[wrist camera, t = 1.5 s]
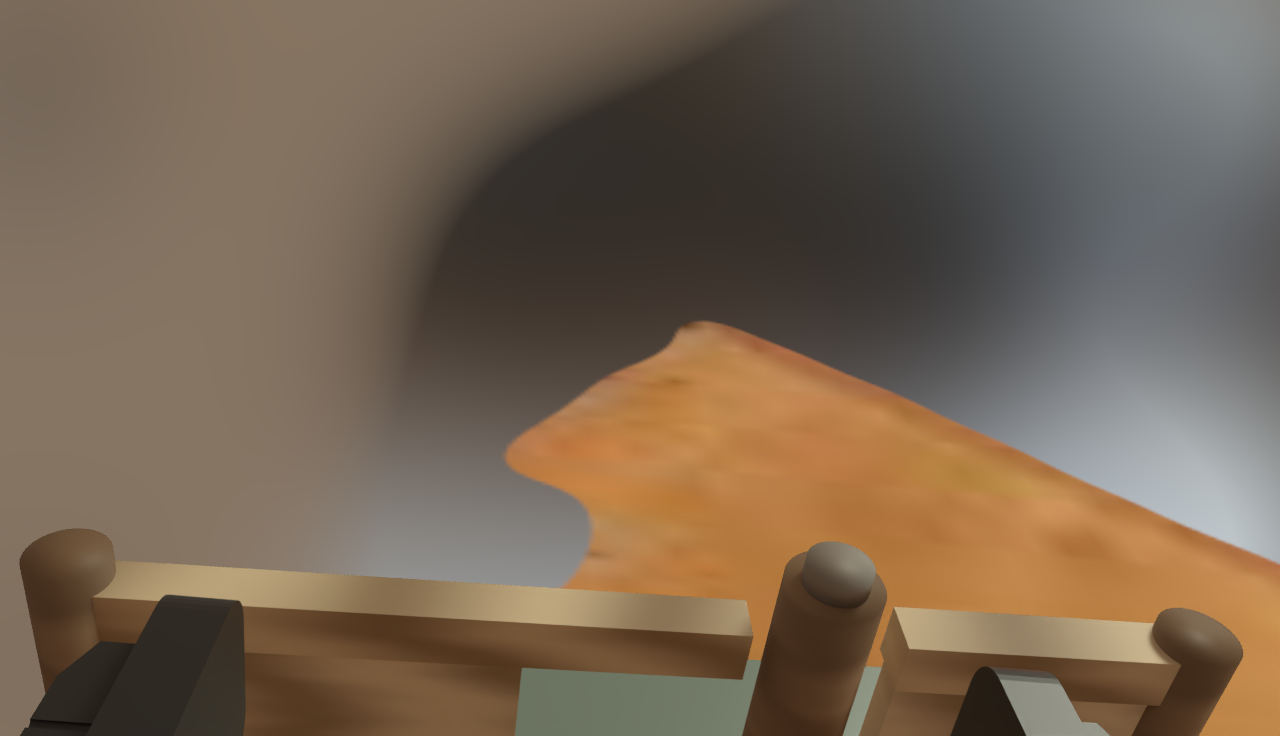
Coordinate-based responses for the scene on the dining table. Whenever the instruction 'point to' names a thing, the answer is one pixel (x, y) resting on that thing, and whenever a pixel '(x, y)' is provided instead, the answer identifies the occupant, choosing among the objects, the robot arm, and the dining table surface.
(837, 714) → the corner post
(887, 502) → the dining table surface
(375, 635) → the swing panel
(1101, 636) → the fixed panel
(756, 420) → the dining table surface
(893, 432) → the dining table surface
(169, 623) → the robot arm
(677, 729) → the mat
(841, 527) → the dining table surface
